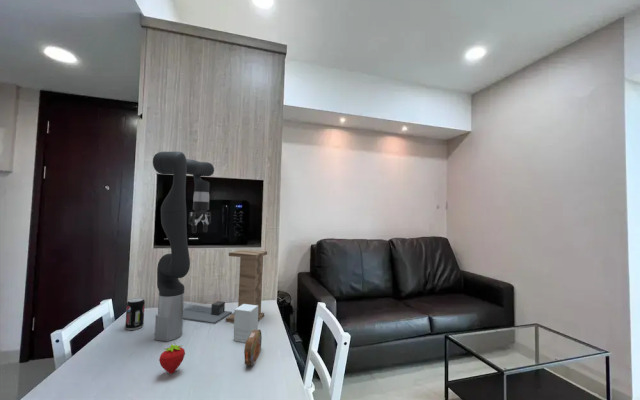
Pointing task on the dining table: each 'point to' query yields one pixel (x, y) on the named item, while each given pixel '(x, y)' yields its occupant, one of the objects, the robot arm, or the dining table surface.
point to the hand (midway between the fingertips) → (199, 232)
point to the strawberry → (172, 358)
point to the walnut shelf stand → (249, 279)
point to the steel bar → (206, 307)
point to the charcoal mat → (204, 316)
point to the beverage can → (135, 313)
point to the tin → (252, 347)
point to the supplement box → (245, 321)
